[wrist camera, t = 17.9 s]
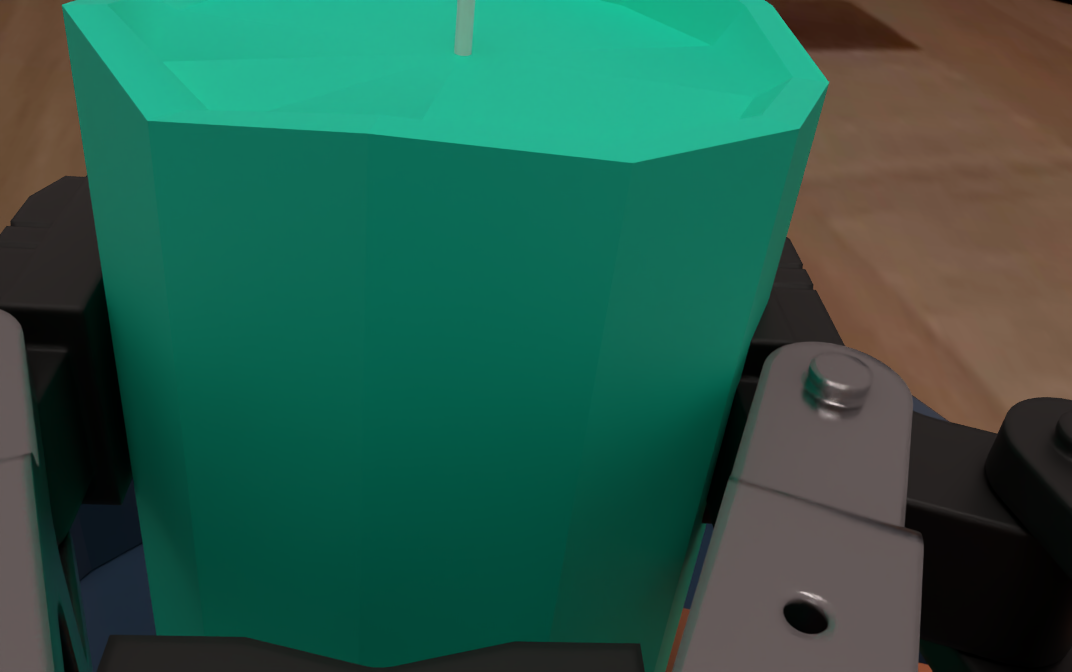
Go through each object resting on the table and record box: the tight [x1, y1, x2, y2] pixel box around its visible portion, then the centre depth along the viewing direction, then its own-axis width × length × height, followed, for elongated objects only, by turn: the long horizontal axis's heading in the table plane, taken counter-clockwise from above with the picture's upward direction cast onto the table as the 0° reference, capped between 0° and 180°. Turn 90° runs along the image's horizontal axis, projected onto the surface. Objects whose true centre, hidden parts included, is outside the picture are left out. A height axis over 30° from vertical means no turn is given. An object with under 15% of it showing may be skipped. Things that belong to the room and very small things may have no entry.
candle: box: [62, 0, 829, 672], centre depth 11 cm, size 6×6×12 cm
